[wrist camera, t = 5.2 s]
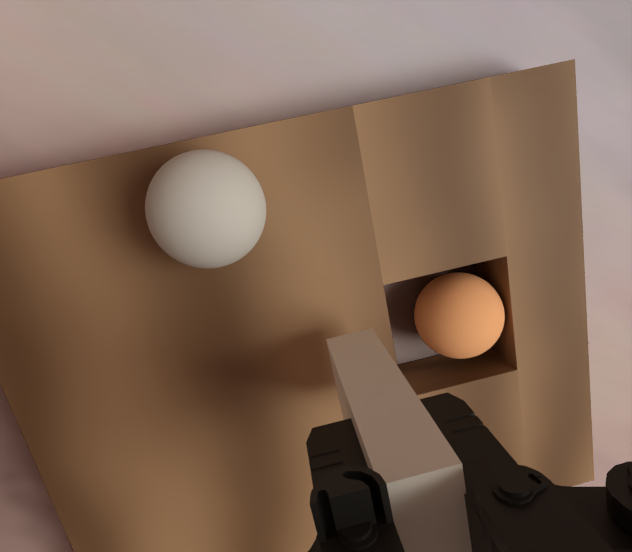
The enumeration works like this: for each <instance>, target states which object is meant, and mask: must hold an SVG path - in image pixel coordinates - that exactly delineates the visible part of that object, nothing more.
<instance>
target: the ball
mask: <svg viewBox="0 0 632 552" xmlns="http://www.w3.org/2000/svg"><path fill="white" fill-rule="evenodd" d="M414 319H415V324H416V328H417V330H418V333H419V335H420V336H421V338H422V339H423V341H424V342H425V343H426V344H427V345H428V346H429V347H430V348H431V349H433V350H434V351H436V352H437V353H439V354H441V355H443V356H446V357H450V358H456V359H465V358H471V357H475V356H478V355H480V354H482V353H484V352H485V351H487V350H488V349H490V348H491V347H492V346H493V345H494V344H495V342H496V341H497V340H498V338H499V337H500V335H501V332H502V330H503V326H504V320H505V313H504V307H503V303H502V301H501V298H500V296H499V295H498V293H497V292H496V290H495V289H494V288H493V287H492V286H491V285H490V284H489V283H488V282H486V281H485V280H484V279H482V278H480V277H478V276H475V275H473V274H469V273H462V272H454V273H448V274H444V275H441V276H439V277H437V278H435V279H433V280H432V281H431V282H430V283H428V284H427V285H426V286H425V287H424V289H423V290H422V291H421V293H420V294H419V296H418V298H417V301H416V304H415V310H414Z"/></svg>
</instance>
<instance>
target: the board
mask: <svg viewBox="0 0 632 552" xmlns="http://www.w3.org/2000/svg"><path fill="white" fill-rule="evenodd" d="M193 150H215V151H219V152H223V153H226V154H228V155H230V156H232V157H234V158H236V159H238V160H239V161H240V162H242V163H243V164H244V165H245V166H247V167H248V168H249V169H250V170H251V172H252V173H253V174H254V175H255V177H256V178H257V180H258V182H259V183H260V186H261V188H262V190H263V193H264V197H265V202H266V221H265V225H264V229H263V231H262V234H261V236H260V238H259V240H258V242H257V243H256V244H255V246H254V247H253V248H252V249H251V250H250V252H249V253H248V254H246V255H245V256H244V257H243V258H241V259H239V260H238V261H236V262H234V263H232V264H229V265H226V266H223V267H218V268H208V269H205V268H196V267H192V266H189V265H186V264H183V263H181V262H179V261H177V260H175V259H174V258H172V257H171V256H169V255H168V254H167V253H166V252H165V251H164V250H163V249H162V248H161V247H160V246H159V245H158V244H157V242H156V241H155V239H154V238H153V236H152V234H151V232H150V229H149V227H148V224H147V220H146V214H145V200H146V194H147V191H148V188H149V185H150V183H151V181H152V179H153V177H154V175H155V174H156V172H157V171H158V170H159V169H160V168H161V167H162V166H163V165H164V164H165V163H166V162H167V161H169V160H170V159H172V158H174V157H175V156H177V155H180V154H182V153H185V152H188V151H193ZM475 263H476V269H477V276H478V277H480V278H482V279H484V280H485V281H486V282H488V283H489V284H490V285H491V286H492V287H493V288H494V289H495V290H496V292H497V293H498V295H499V296H500V298H501V301H502V303H503V307H504V313H505V320H504V326H503V330H502V332H501V335H500V337H499V338H498V340H497V341H496V342H495V344H494V345H493V346H492V347H491V348H490V349H488V350H487V351H485V352H484V353H482V354H480V355H478V356H475V357H471V358H465V359H456V358H450V357H446V356H443V355H437V356H433V357H429V358H425V359H421V360H417V361H413V362H409V363H405V364H401V365H397V361H396V355H395V349H394V344H393V338H392V332H391V326H390V320H389V315H388V309H387V303H386V297H385V291H384V286H383V285H386V284H391V283H395V282H399V281H403V280H407V279H412V278H416V277H420V276H424V275H429V274H433V273H437V272H441V271H446V270H450V269H454V268H458V267H463V266H467V265H471V264H475ZM371 328H373V330H374V331H375V333H376V334H377V336H378V337H379V339H380V340H381V342H382V343H383V345H384V346H385V348H386V349H387V351H388V353H389V354H390V356H391V357H392V359H393V360H394V362H395V363H396V365H397V366H398V368H399V369H400V371H401V372H402V374H403V375H404V377H405V378H406V380H407V381H408V383H409V384H410V386H411V387H412V389H413V390H414V392H415V393H416V395H417V396H418V398H419V399H423V398H427V397H431V396H435V395H439V394H443V393H447V392H448V393H450V394H452V395H454V396H456V397H458V398H460V399H462V400H464V401H465V402H466V403H467V405H468V406H469V407H470V408H471V409H472V410H473V412H474V413H475V415H476V416H478V418H479V419H480V420H481V421H482V422H483V424H484V426H486V427H487V428H488V429H489V431H490V432H491V433H492V434H493V435H494V436H495V438H496V439H497V440H498V441H499V442H500V444H501V445H502V446H503V447H504V448H505V449H506V451H507V452H508V453H509V454H510V455H511V457H512V458H513V459H514V460H515V461H516V462H517V464H518V465H524V466H527V467H530V468H532V469H534V470H537V471H539V472H541V473H542V474H543V475H544V476H546V477H547V478H548V479H550V480H551V481H552V483H553V484H555V485H559V486H570V487H571V486H574V485H578V484H582V483H585V482H589V481H592V480H594V464H593V443H592V421H591V399H590V378H589V356H588V334H587V312H586V291H585V269H584V247H583V226H582V204H581V182H580V161H579V139H578V117H577V96H576V74H575V59H574V60H569V61H564V62H559V63H554V64H550V65H545V66H540V67H535V68H530V69H526V70H521V71H516V72H511V73H506V74H502V75H497V76H492V77H487V78H482V79H478V80H473V81H468V82H463V83H458V84H454V85H449V86H444V87H439V88H434V89H430V90H425V91H420V92H415V93H410V94H405V95H401V96H396V97H391V98H386V99H381V100H377V101H372V102H367V103H362V104H357V105H353V106H348V107H343V108H338V109H333V110H329V111H324V112H319V113H314V114H309V115H305V116H300V117H295V118H290V119H285V120H281V121H276V122H271V123H266V124H261V125H257V126H252V127H247V128H242V129H237V130H233V131H228V132H223V133H218V134H213V135H209V136H204V137H199V138H194V139H189V140H185V141H180V142H175V143H170V144H165V145H161V146H156V147H151V148H146V149H141V150H136V151H132V152H127V153H122V154H117V155H112V156H108V157H103V158H98V159H93V160H88V161H84V162H79V163H74V164H69V165H64V166H60V167H55V168H50V169H45V170H40V171H36V172H31V173H26V174H21V175H16V176H12V177H7V178H2V179H0V385H1V387H2V389H3V392H4V394H5V396H6V398H7V401H8V403H9V405H10V408H11V410H12V412H13V414H14V417H15V419H16V421H17V423H18V426H19V428H20V430H21V433H22V435H23V437H24V439H25V442H26V444H27V446H28V448H29V451H30V453H31V455H32V458H33V460H34V462H35V464H36V467H37V469H38V471H39V473H40V476H41V478H42V480H43V483H44V485H45V487H46V489H47V492H48V494H49V496H50V498H51V501H52V503H53V505H54V508H55V510H56V512H57V514H58V517H59V519H60V521H61V524H62V526H63V528H64V530H65V533H66V535H67V537H68V539H69V542H70V544H71V546H72V549H73V551H74V552H308V551H309V549H310V548H311V547H312V545H313V543H314V541H315V539H316V536H317V531H316V527H315V523H314V519H313V516H312V512H311V508H310V504H309V503H310V494H311V491H312V489H313V483H312V477H311V470H310V464H309V458H308V452H307V446H306V441H307V439H308V437H309V434H310V432H311V430H312V428H314V427H318V426H322V425H326V424H330V423H334V422H338V421H342V420H344V418H343V415H342V411H341V406H340V401H339V397H338V392H337V388H336V383H335V378H334V374H333V369H332V365H331V360H330V355H329V351H328V346H327V341H326V339H330V338H334V337H338V336H342V335H347V334H351V333H355V332H359V331H363V330H367V329H371Z"/></svg>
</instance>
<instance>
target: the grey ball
mask: <svg viewBox="0 0 632 552" xmlns="http://www.w3.org/2000/svg"><path fill="white" fill-rule="evenodd" d="M145 214H146V220H147V224H148V227H149V229H150V232H151V234H152V236H153V238H154V239H155V241H156V242H157V244H158V245H159V246H160V247H161V248H162V249H163V250H164V251H165V252H166V253H167V254H168V255H169V256H171V257H172V258H174V259H175V260H177V261H179V262H181V263H183V264H186V265H189V266H192V267H196V268H205V269H208V268H218V267H223V266H226V265H229V264H232V263H234V262H236V261H238V260H239V259H241V258H243V257H244V256H245V255H246V254H248V253H249V252H250V250H251V249H252V248H253V247H254V246H255V244H256V243H257V242H258V240H259V238H260V236H261V234H262V231H263V229H264V225H265V221H266V202H265V197H264V193H263V190H262V188H261V186H260V183H259V182H258V180H257V178H256V177H255V175H254V174H253V173H252V172H251V170H250V169H249V168H248V167H247V166H245V165H244V164H243V163H242V162H240V161H239V160H238V159H236V158H234V157H232V156H230V155H228V154H226V153H223V152H219V151H215V150H193V151H188V152H185V153H182V154H180V155H177V156H175V157H174V158H172V159H170V160H169V161H167V162H166V163H165V164H164V165H163V166H162V167H161V168H160V169H159V170H158V171H157V172H156V174H155V175H154V177H153V179H152V181H151V183H150V185H149V188H148V191H147V194H146V200H145Z"/></svg>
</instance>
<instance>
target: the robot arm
mask: <svg viewBox="0 0 632 552" xmlns="http://www.w3.org/2000/svg"><path fill="white" fill-rule="evenodd" d="M326 341H327V346H328V351H329V355H330V360H331V365H332V369H333V374H334V378H335V383H336V388H337V392H338V397H339V401H340V406H341V411H342V415H343V418H344V420H342V421H338V422H334V423H330V424H326V425H322V426H318V427H314V428H312V430H311V432H310V434H309V437H308V439H307V441H306V446H307V452H308V458H309V464H310V470H311V477H312V483H313V489H312V491H311V494H310V503H309V504H310V508H311V512H312V516H313V519H314V523H315V527H316V531H317V536H316V539H315V541H314V543H313V545H312V547H311V548H310V549H309V551H308V552H632V462H625V463H622V464H619V465H616V466H614V467H613V468H612V469H611V470H610V471H609V472H608V473H607V477H606V487H570V486H559V485H555V484H553V483H552V481H551V480H550V479H548V478H547V477H546V476H544V475H543V474H542V473H541V472H539V471H537V470H534V469H532V468H530V467H527V466H524V465H518V464H517V462H516V461H515V460H514V459H513V458H512V457H511V455H510V454H509V453H508V452H507V451H506V449H505V448H504V447H503V446H502V445H501V444H500V442H499V441H498V440H497V439H496V438H495V436H494V435H493V434H492V433H491V432H490V431H489V429H488V428H487V427H486V426H484V424H483V422H482V421H481V420H480V419H479V418H478V416H476V415H475V413H474V412H473V410H472V409H471V408H470V407H469V406H468V405H467V403H466V402H465V401H464V400H462V399H460V398H458V397H456V396H454V395H452V394H450V393H448V392H447V393H443V394H439V395H435V396H431V397H427V398H423V399H419V398H418V396H417V395H416V393H415V392H414V390H413V389H412V387H411V386H410V384H409V383H408V381H407V380H406V378H405V377H404V375H403V374H402V372H401V371H400V369H399V368H398V366H397V365H396V363H395V362H394V360H393V359H392V357H391V356H390V354H389V353H388V351H387V349H386V348H385V346H384V345H383V343H382V342H381V340H380V339H379V337H378V336H377V334H376V333H375V331H374V330H373V328H371V329H367V330H363V331H359V332H355V333H351V334H347V335H342V336H338V337H334V338H330V339H326Z"/></svg>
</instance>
